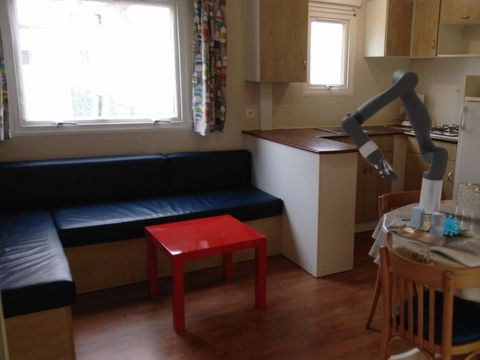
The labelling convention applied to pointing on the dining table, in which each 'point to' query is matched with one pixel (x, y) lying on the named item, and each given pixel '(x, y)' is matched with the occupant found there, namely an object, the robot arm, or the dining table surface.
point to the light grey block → (417, 217)
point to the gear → (451, 226)
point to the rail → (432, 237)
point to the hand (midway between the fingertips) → (394, 181)
